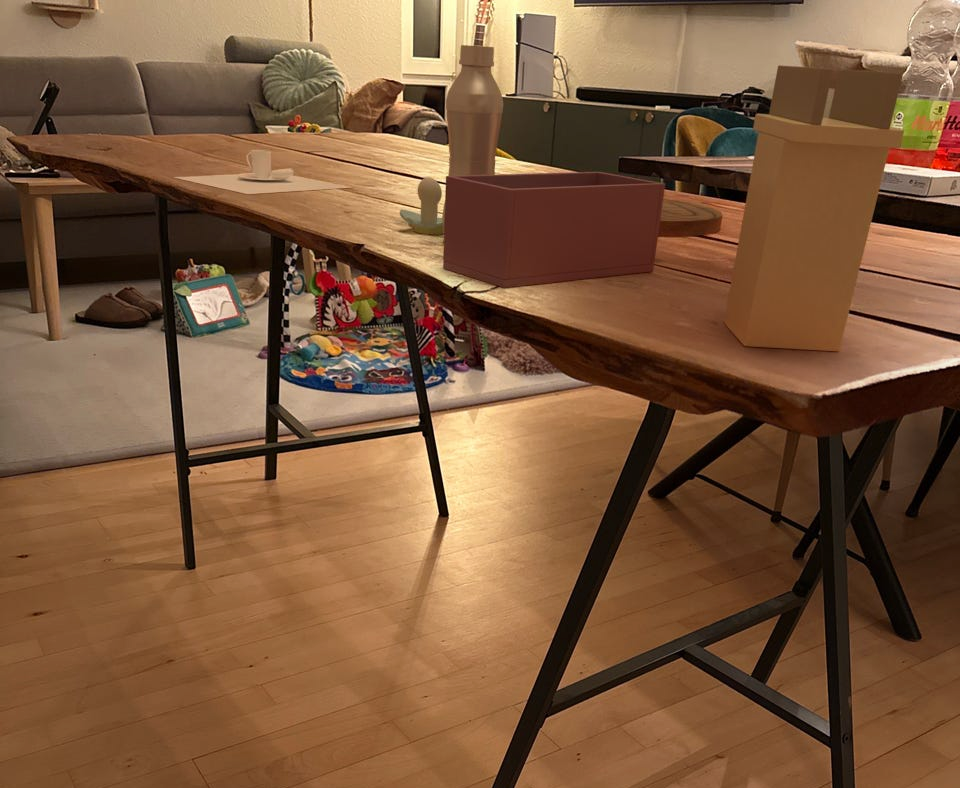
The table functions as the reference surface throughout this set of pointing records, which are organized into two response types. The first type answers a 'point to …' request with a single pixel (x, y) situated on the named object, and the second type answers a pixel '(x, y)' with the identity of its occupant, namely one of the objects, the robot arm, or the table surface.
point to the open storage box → (550, 226)
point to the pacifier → (426, 209)
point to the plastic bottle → (473, 115)
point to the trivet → (688, 219)
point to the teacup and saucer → (262, 178)
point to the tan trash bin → (810, 206)
